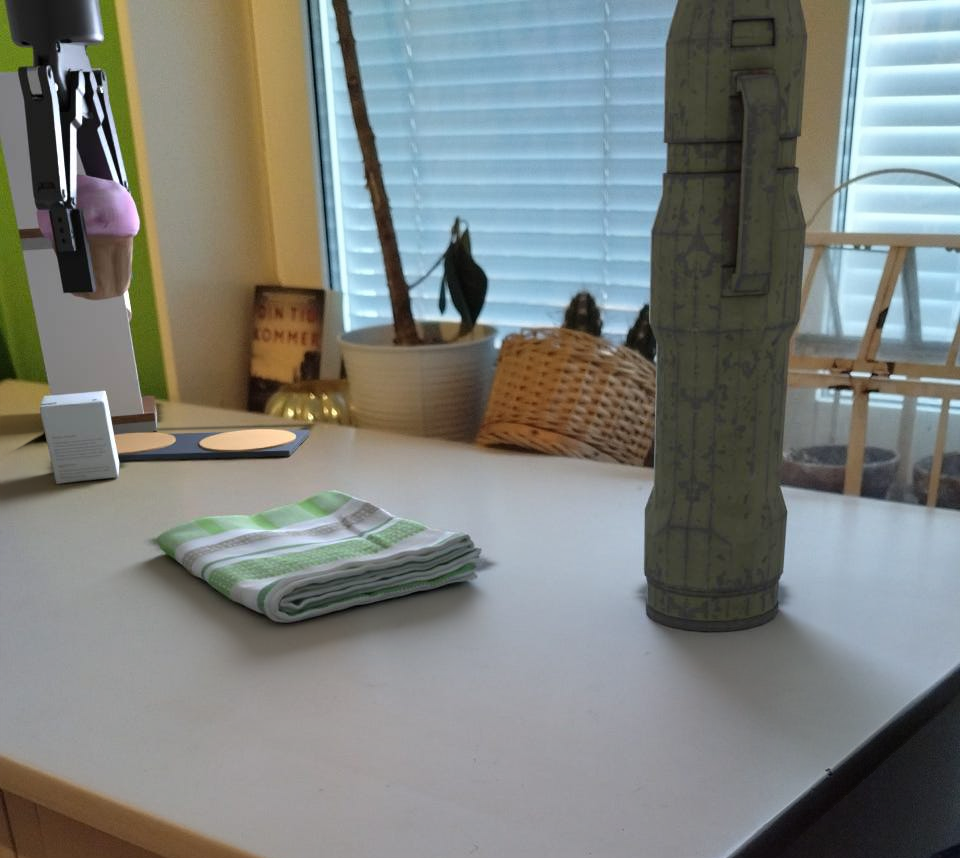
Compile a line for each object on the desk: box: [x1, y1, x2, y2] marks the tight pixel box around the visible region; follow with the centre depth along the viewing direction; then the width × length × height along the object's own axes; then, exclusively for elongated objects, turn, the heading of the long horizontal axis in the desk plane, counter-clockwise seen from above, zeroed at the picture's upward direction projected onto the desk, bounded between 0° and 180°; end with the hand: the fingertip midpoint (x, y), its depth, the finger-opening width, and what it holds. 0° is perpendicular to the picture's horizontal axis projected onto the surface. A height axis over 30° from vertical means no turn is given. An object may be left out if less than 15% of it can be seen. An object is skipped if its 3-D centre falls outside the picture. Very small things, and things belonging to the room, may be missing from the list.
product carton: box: [39, 391, 120, 485], centre depth 128 cm, size 6×6×7 cm
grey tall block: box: [0, 67, 158, 435], centre depth 143 cm, size 11×11×35 cm
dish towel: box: [156, 489, 485, 623], centre depth 98 cm, size 17×23×4 cm
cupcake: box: [36, 174, 140, 300], centre depth 117 cm, size 9×9×10 cm
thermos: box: [643, 0, 808, 632], centre depth 78 cm, size 9×12×35 cm
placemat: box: [114, 428, 310, 462], centre depth 138 cm, size 24×10×1 cm, turn 85°
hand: (99, 285), depth 119 cm, fingers closed on cupcake, 9 cm apart
